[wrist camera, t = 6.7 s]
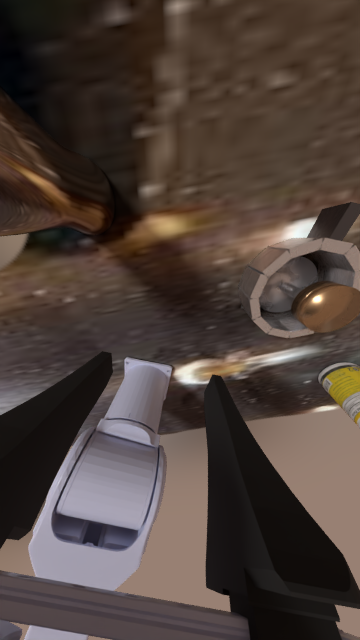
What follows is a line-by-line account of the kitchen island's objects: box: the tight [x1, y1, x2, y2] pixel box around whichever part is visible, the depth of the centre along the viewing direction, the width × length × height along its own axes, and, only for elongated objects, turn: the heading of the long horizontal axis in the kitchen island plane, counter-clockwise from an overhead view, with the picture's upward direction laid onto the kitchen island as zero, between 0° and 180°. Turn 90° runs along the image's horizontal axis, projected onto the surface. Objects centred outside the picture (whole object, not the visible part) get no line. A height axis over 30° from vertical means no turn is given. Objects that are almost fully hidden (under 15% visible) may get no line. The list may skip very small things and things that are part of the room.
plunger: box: [259, 256, 360, 332], centre depth 13 cm, size 6×6×7 cm
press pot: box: [238, 202, 360, 338], centre depth 14 cm, size 11×9×4 cm
